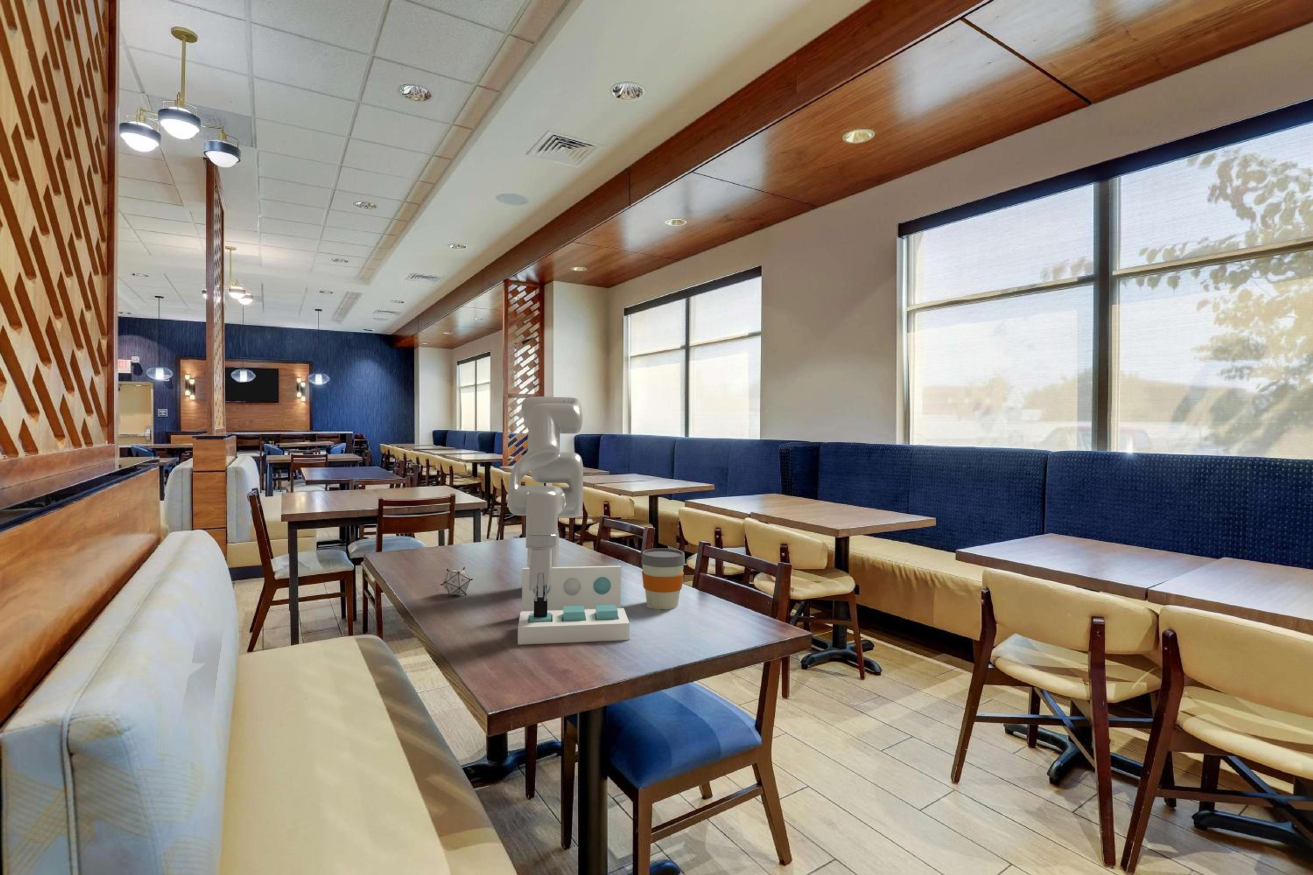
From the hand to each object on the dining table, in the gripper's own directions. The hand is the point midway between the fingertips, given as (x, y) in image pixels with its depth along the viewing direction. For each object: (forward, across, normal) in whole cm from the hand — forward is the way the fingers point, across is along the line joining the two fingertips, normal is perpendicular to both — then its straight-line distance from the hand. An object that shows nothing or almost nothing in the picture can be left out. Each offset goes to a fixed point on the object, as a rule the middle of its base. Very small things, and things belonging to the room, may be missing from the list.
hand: (540, 616), depth 147 cm
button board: (+5, 0, +8) cm, 9 cm away
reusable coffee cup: (+5, -21, +34) cm, 40 cm away
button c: (+2, 0, +16) cm, 16 cm away
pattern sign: (+4, -14, +8) cm, 17 cm away
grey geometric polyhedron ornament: (+5, -37, -25) cm, 45 cm away
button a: (+3, 0, 0) cm, 3 cm away
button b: (+2, 0, +8) cm, 8 cm away
